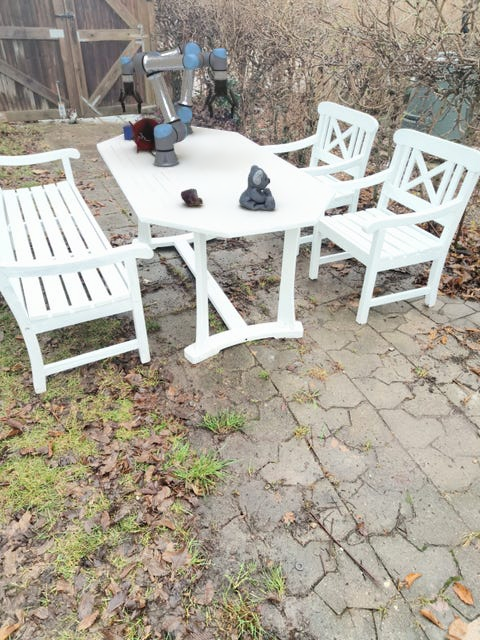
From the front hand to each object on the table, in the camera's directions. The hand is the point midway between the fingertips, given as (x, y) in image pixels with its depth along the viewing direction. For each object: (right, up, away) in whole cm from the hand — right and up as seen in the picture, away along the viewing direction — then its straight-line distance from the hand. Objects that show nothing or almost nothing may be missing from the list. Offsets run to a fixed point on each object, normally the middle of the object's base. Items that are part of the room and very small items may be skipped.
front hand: (221, 118), depth 276 cm
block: (-75, +18, +77) cm, 110 cm away
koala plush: (+20, -66, -46) cm, 83 cm away
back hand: (-71, +34, +66) cm, 103 cm away
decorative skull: (-54, +1, +51) cm, 75 cm away
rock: (-14, -65, -44) cm, 80 cm away
